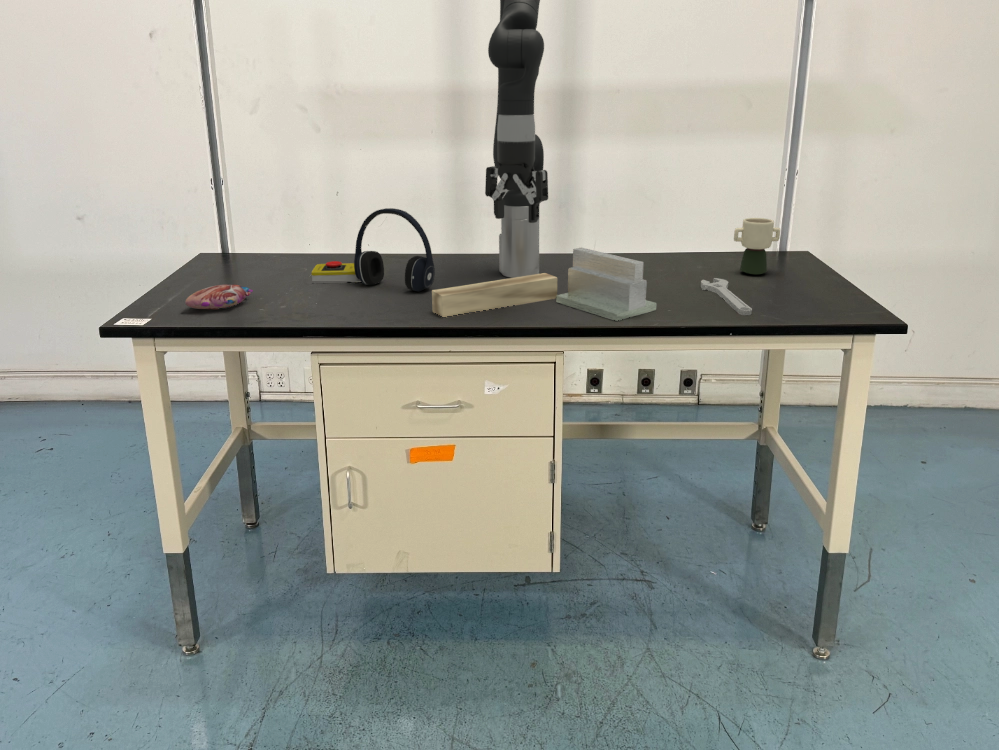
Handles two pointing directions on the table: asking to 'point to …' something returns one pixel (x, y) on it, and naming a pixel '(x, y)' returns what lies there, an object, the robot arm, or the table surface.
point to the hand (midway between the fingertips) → (516, 220)
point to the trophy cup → (756, 243)
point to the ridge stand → (606, 285)
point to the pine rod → (494, 294)
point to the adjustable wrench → (726, 295)
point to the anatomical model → (218, 297)
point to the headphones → (371, 262)
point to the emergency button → (334, 272)
